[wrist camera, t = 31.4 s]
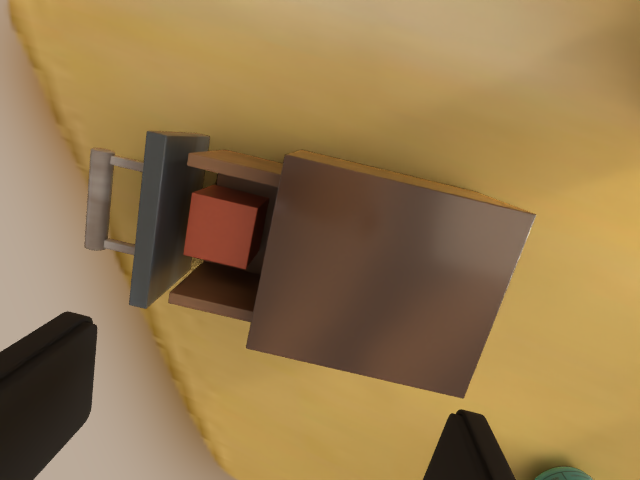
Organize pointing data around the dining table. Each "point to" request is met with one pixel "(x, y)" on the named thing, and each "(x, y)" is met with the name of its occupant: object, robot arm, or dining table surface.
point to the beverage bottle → (563, 474)
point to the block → (225, 225)
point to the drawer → (180, 220)
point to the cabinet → (383, 272)
